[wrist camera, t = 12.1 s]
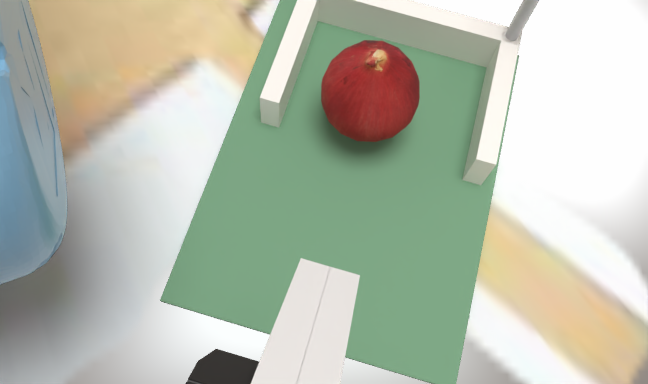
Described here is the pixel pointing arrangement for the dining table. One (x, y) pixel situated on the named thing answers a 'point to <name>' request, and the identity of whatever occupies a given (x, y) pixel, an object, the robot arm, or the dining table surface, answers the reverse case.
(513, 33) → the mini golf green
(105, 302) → the dining table surface
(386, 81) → the onion
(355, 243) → the felt mat
